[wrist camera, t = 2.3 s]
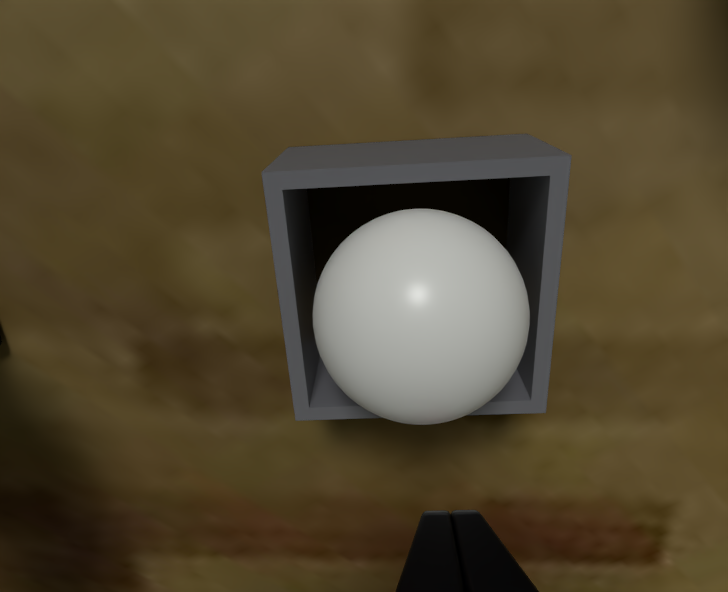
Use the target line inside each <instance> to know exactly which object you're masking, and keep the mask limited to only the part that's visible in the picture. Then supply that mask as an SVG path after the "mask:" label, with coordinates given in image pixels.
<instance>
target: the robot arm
mask: <svg viewBox="0 0 728 592" xmlns="http://www.w3.org/2000/svg"><path fill="white" fill-rule="evenodd" d="M1 342H2V341H1V336H0V345H1ZM396 592H539V591H538V590H537V588H536V587H535V586H534V584H533V583H532V582H531V580H530V579H529V578H528V576H527V575H526V574H525V572H524V571H523V570H522V568H521V567H520V566H519V564H518V563H517V562H516V560H515V559H514V558H513V556H512V555H511V554H510V552H509V551H508V550H507V548H506V547H505V546H504V544H503V543H502V542H501V540H500V539H499V538H498V536H497V535H496V534H495V532H494V531H493V530H492V528H491V527H490V526H489V524H488V523H487V522H486V520H485V519H484V518H483V516H482V515H481V514H480V513H479V512H478V511H476V510H455V511H453V512H452V513H451V515H450V513H449V512H448V511H425V512H424V513H423V514H422V516H421V519H420V522H419V525H418V527H417V530H416V533H415V536H414V539H413V542H412V545H411V548H410V551H409V554H408V557H407V560H406V563H405V566H404V568H403V571H402V574H401V577H400V580H399V583H398V586H397V589H396Z"/></svg>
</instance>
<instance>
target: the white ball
mask: <svg viewBox="0 0 728 592" xmlns="http://www.w3.org/2000/svg"><path fill="white" fill-rule="evenodd" d="M529 325H530V310H529V302H528V296H527V291H526V287H525V284H524V281H523V278H522V276H521V274H520V272H519V270H518V268H517V266H516V264H515V262H514V260H513V259H512V257H511V256H510V254H509V253H508V251H507V250H506V249H505V248H504V247H503V246H502V245H501V244H500V242H499V241H498V240H497V239H496V238H495V237H494V236H492V235H491V234H490V233H489V232H488V231H486V230H485V229H484V228H482V227H481V226H479V225H477V224H476V223H474V222H472V221H470V220H468V219H466V218H463V217H461V216H459V215H456V214H453V213H449V212H446V211H441V210H434V209H407V210H400V211H396V212H392V213H388V214H385V215H383V216H380V217H378V218H375V219H373V220H371V221H369V222H368V223H366V224H364V225H362V226H361V227H360V228H358V229H357V230H356V231H354V232H353V233H352V234H350V235H349V236H348V237H347V238H346V239H345V240H344V241H343V242H342V243H341V244H340V245H339V246H338V248H337V249H336V250H335V251H334V253H333V254H332V255H331V257H330V258H329V260H328V262H327V264H326V265H325V267H324V269H323V271H322V274H321V276H320V279H319V281H318V284H317V288H316V292H315V296H314V304H313V329H314V335H315V340H316V345H317V348H318V351H319V354H320V357H321V359H322V361H323V363H324V365H325V367H326V369H327V371H328V373H329V374H330V376H331V377H332V379H333V380H334V381H335V383H336V384H337V385H338V386H339V387H340V388H341V389H342V391H343V392H344V393H345V394H346V395H347V396H348V397H350V398H351V399H352V400H353V401H354V402H355V403H357V404H358V405H360V406H361V407H363V408H364V409H366V410H368V411H370V412H372V413H374V414H376V415H378V416H380V417H383V418H386V419H388V420H391V421H395V422H400V423H405V424H413V425H429V424H438V423H443V422H448V421H452V420H455V419H458V418H461V417H463V416H465V415H468V414H470V413H472V412H474V411H475V410H477V409H479V408H480V407H482V406H483V405H484V404H486V403H487V402H489V401H490V400H491V399H492V398H493V397H494V396H496V395H497V394H498V393H499V392H500V391H501V390H502V389H503V387H504V386H505V385H506V384H507V383H508V381H509V380H510V378H511V377H512V375H513V374H514V372H515V370H516V369H517V367H518V365H519V363H520V360H521V358H522V356H523V353H524V350H525V347H526V344H527V338H528V332H529Z"/></svg>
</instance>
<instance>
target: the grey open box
mask: <svg viewBox="0 0 728 592" xmlns="http://www.w3.org/2000/svg"><path fill="white" fill-rule="evenodd" d="M570 165H571V155H570V154H568V153H566V152H564V151H562V150H559V149H557V148H555V147H553V146H551V145H549V144H547V143H545V142H543V141H541V140H539V139H537V138H535V137H533V136H531V135H529V134H514V135H496V136H479V137H461V138H444V139H426V140H409V141H391V142H373V143H356V144H338V145H321V146H303V147H288V148H287V149H286V150H285V151H284V152H283V153H282V154H281V155H280V156H278V157H277V158H276V159H275V160H274V161H273V162H272V163H271V164H270V165H269V166H268V167H267V168H266V169H265V170H264V171H262V179H263V186H264V193H265V201H266V208H267V215H268V223H269V230H270V237H271V244H272V252H273V259H274V266H275V274H276V281H277V288H278V295H279V303H280V310H281V317H282V325H283V332H284V339H285V346H286V354H287V361H288V368H289V376H290V383H291V390H292V397H293V405H294V412H295V419H296V421H297V420H330V419H362V418H383V417H380V416H378V415H376V414H374V413H372V412H370V411H368V410H366V409H364V408H363V407H361V406H360V405H358V404H357V403H355V402H354V401H353V400H352V399H351V398H350V397H348V396H347V395H346V394H345V393H344V392H343V391H342V389H341V388H340V387H339V386H338V385H337V384H336V383H335V381H334V380H333V379H332V377H331V376H330V374H329V373H328V371H327V369H326V367H325V365H324V363H323V361H322V359H321V357H320V354H319V351H318V348H317V345H316V340H315V335H314V329H313V304H314V296H315V292H316V288H317V281H316V271H315V262H314V252H313V243H312V233H311V223H310V214H309V204H308V194H307V188H326V187H345V186H363V185H382V184H401V183H420V182H439V181H458V180H477V179H496V178H510V187H509V206H508V224H507V243H506V250H507V251H508V253H509V254H510V256H511V257H512V259H513V260H514V262H515V264H516V266H517V268H518V270H519V272H520V274H521V276H522V278H523V281H524V284H525V287H526V291H527V296H528V302H529V310H530V325H529V332H528V338H527V344H526V347H525V350H524V353H523V356H522V358H521V360H520V363H519V365H518V367H517V369H516V370H515V372H514V374H513V375H512V377H511V378H510V380H509V381H508V383H507V384H506V385H505V386H504V387H503V389H502V390H501V391H500V392H499V393H498V394H497V395H496V396H494V397H493V398H492V399H491V400H490V401H489V402H487V403H486V404H484V405H483V406H482V407H480V408H479V409H477V410H475V411H474V412H472V413H470V414H468V415H491V414H523V413H546V405H547V395H548V385H549V375H550V365H551V355H552V345H553V335H554V325H555V315H556V305H557V295H558V285H559V275H560V265H561V255H562V245H563V235H564V225H565V215H566V205H567V195H568V185H569V175H570Z"/></svg>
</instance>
